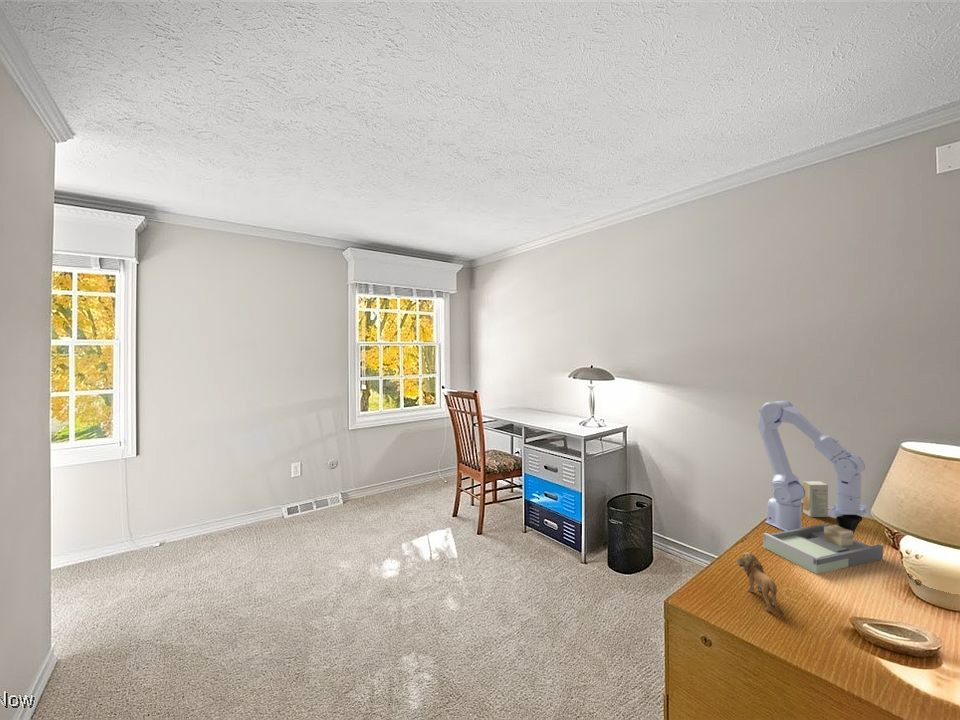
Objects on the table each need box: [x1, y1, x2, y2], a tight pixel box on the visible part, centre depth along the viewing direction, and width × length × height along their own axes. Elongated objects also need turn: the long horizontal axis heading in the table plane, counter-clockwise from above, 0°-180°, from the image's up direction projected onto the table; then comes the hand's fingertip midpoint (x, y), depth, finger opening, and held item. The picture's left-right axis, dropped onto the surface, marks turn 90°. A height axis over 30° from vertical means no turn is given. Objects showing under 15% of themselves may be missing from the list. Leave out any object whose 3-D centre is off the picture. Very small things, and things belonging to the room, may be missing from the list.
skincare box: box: [802, 480, 829, 518], centre depth 157 cm, size 6×4×12 cm
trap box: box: [762, 523, 884, 575], centre depth 129 cm, size 16×27×4 cm, turn 107°
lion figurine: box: [735, 551, 784, 616], centre depth 107 cm, size 15×5×9 cm, turn 2°
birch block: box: [824, 524, 854, 547], centre depth 131 cm, size 5×5×4 cm
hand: (847, 537), depth 132 cm, fingers closed
